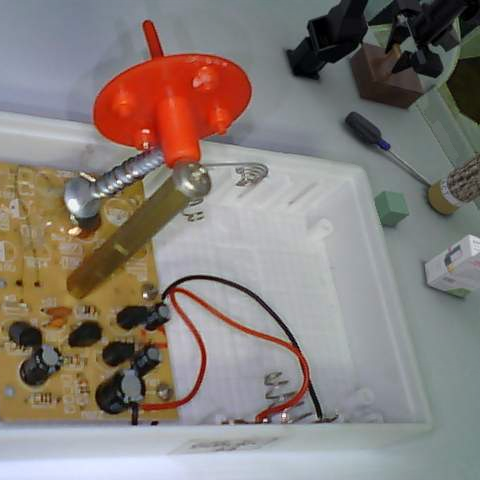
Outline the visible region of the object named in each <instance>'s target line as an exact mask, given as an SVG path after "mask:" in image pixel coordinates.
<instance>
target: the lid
mask: <svg viewBox="0 0 480 480" xmlns="http://www.w3.org/2000/svg"><path fill="white" fill-rule="evenodd" d="M361 47H362V50H363V53H364V56H365V60H366V63H367V66H368V69H369V72H370V75H371V79H372V82H373V83H375V84H379V85H383V86H387V87H391V88H395V89H399V90H403V91H407V92H411V93H415V94H419V95H422V96H424V95H425V91H424V89H423V86H422V82H421V80H420V77H419V74H417V73H416V72H415V71H414V70H413V67H411V68H409V69H406V70H404V71H402V72H399V73H397V74H392V73H391V71H392V69H393V67H394V65H395V64H396V62H397V61H398V59H399V58H400V56H401V55H402V53H403V51H402V50H403V49H402V47H401V45H400V44H399V43H394V44H393V45H392V49H391V50H390V51H389V52H388V53H387V54H385V49H386V47H382V46H380V45H375V44H373V43H368V42H364V41H363V44H360V48H361Z"/></svg>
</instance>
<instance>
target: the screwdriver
mask: <svg viewBox="0 0 480 480" xmlns="http://www.w3.org/2000/svg"><path fill="white" fill-rule="evenodd" d="M344 123H345V124H346V126H347V127H348V129H350V130H351V131H352V132H353V133H354V134H355V135H356V136H357V137H358V138H359V139H360V140H362V142H364V143H365V144H367V145H371V146H374V145H376V146H377V147H378V148H379V149H380V150H383V151H384V152H388V153H389V154H390V155H391V156H393V157H394V158H395V159H397V160H398V161H399V162H400V163H401V164H402V165H404V166H405V167H406V168H407V169H408V170H409V171H411V172H412V173H413V174H415V176H417V177H418V178H419V179H420V180H422V181H423V182H424V183H425V184H426V185H428V186H429V188H430V187H431V186H432V185H433V184H434V183H432V182H431V181H429V180H428V179H427V178H426V177H425V176H424V175H422V174H421V173H420V172H419V171H417V170H416V169H415V168H414V167H413V166H412V165H410V164H409V163H408V162H407V161H405V159H403V158H402V157H401V156H400V155H398V154H397V153H396V152H395V151H393V149H391V148H392V146H391V144H390V143H389V142H387V141H386V140H384V139H383V138H382V135H383V134H382V132H381V130H380V128H378V127H377V126H376V125H375V124H374V123H373V122H371V121H369V120H368V119H367V118H366V117H364V116H363V115H361V114H360V113H358V112H356V111H354V110H352V111H350V112H349V113H348V114H346V117H345V119H344Z"/></svg>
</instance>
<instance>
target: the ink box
mask: <svg viewBox="0 0 480 480" xmlns="http://www.w3.org/2000/svg"><path fill="white" fill-rule="evenodd" d="M424 271H425V278H426V282H427V286H429V287H431V288H433V289H434V288H435V289H436V290H440V291H442V292H446V293H448V294H451V295H453V296H457V297H459V298H464V297H466V296H468V295H470V294H471V293H472V292H474V291H476V290H478V289H479V288H480V238H479V237H477V236H474V235H472V234H468V235H466V236H464V237H462V238H461V239H460V240H459V241H457V242H455V243H454V244H453V245H451V246H450V247H448V248H447V249H445V250H443V251H442V252H441V253H439V254H438V255H436V256H434V257H433V258H431V259H430V260H429V261H427V262H426V263H425V264H424Z"/></svg>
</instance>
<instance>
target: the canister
mask: <svg viewBox="0 0 480 480" xmlns="http://www.w3.org/2000/svg"><path fill="white" fill-rule="evenodd" d="M432 184H433V185H432V186H431V187H430V186H429V188H428V191H427V198H428V202H429V203H430V205H431V207H432V208H433V209H434V210H435V211H437V212H438V213H440V214H442V215H451V214H453V213H454V212H456V211H457V210H459V209H461V208H462V207H464V206H466V205H468V204H469V203H470V202H471V203H472V201H475V200H476V199H477V198H478V197H480V152H479V153H477V154H475V155H474V156H472V157H471V158H470V159H468V160H467V161H465V162H464V163H462V164H461V165H460V166H458V167H456V168H455V169H453V170H452V171H451V172H449V173H447V174H446V175H445V176H444V177H442V178H441V179H439V180H437V181H436V182H434V183H432Z"/></svg>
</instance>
